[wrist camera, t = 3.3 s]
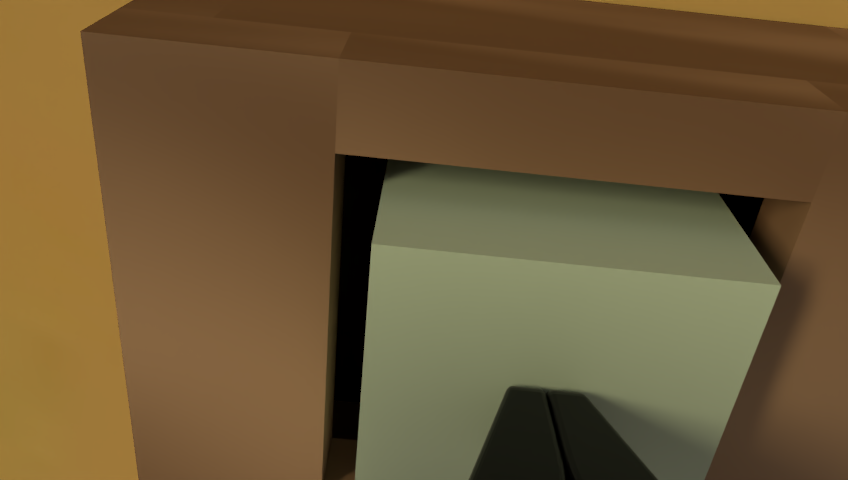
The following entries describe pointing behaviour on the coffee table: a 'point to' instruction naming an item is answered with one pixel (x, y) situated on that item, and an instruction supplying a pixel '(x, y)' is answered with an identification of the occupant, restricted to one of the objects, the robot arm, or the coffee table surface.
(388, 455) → the pale green block
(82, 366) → the coffee table surface
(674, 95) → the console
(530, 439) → the robot arm
